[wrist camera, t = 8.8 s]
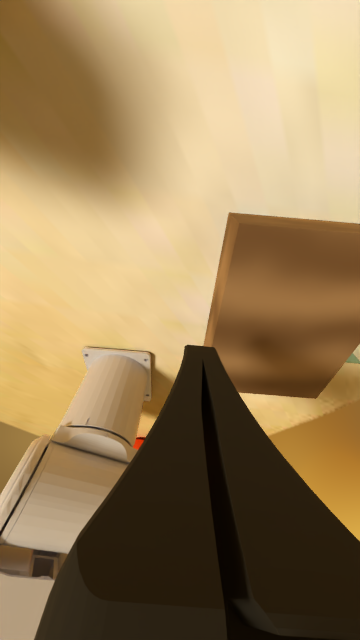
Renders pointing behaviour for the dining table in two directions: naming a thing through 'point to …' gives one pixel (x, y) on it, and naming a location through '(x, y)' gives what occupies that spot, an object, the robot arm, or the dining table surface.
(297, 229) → the brown wooden block
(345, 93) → the dining table surface
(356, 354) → the tile
